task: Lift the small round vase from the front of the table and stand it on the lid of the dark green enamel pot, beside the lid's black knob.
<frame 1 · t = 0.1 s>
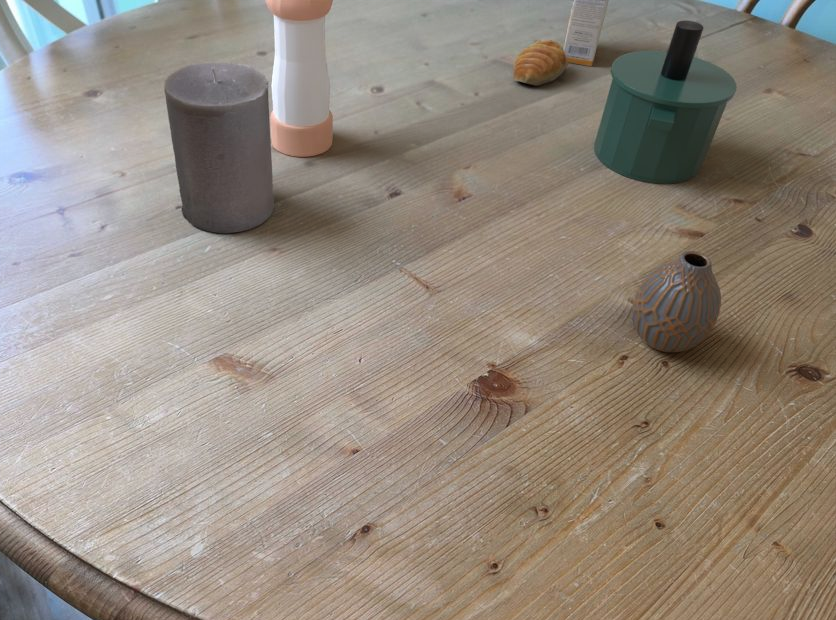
pot: (646, 156, 91), on the table
salt shaker: (302, 143, 90), on the table
pastry: (537, 75, 107), on the table
lid: (671, 80, 84), point 9 cm above the table, touching pot
vase: (661, 338, 67), on the table
pillar candle: (229, 209, 79), on the table
supplement box: (577, 55, 112), on the table
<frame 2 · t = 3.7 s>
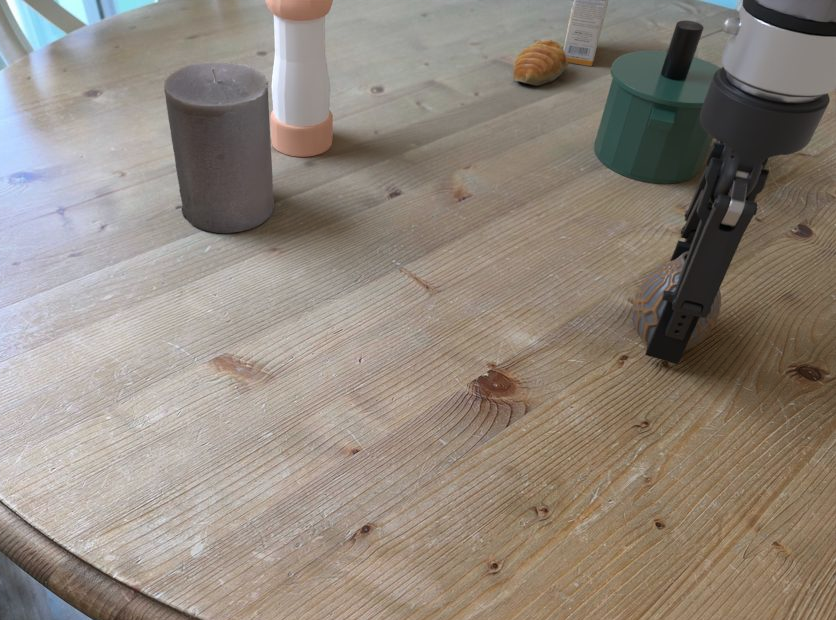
hand: (666, 328, 67), 1 cm above the table, tool pointing down, fingers closed on vase, 7 cm apart
vase: (661, 338, 67), on the table, touching gripper
everything else where it was.
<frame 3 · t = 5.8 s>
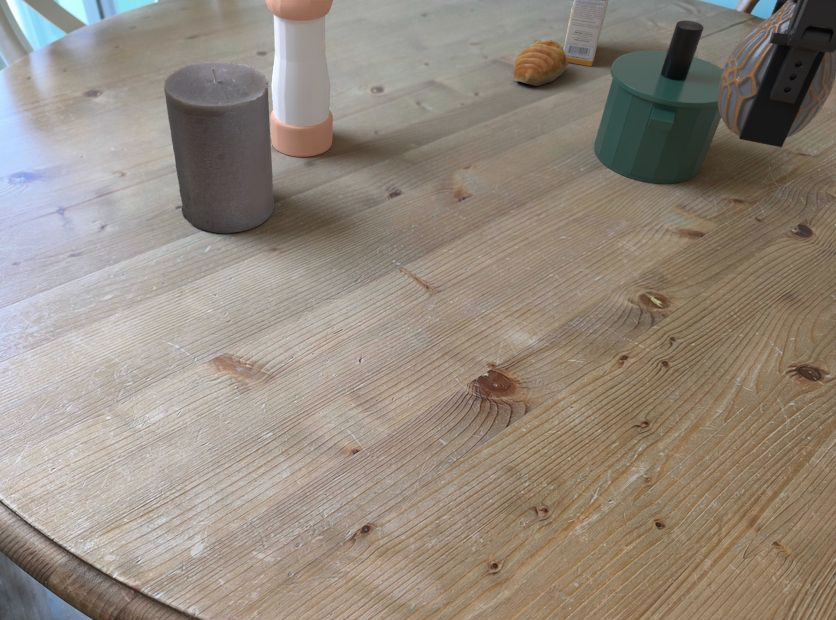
hand: (760, 115, 53), 21 cm above the table, tool pointing down, fingers closed on vase, 7 cm apart
vase: (753, 131, 54), point 20 cm above the table, touching gripper
everything else where it was.
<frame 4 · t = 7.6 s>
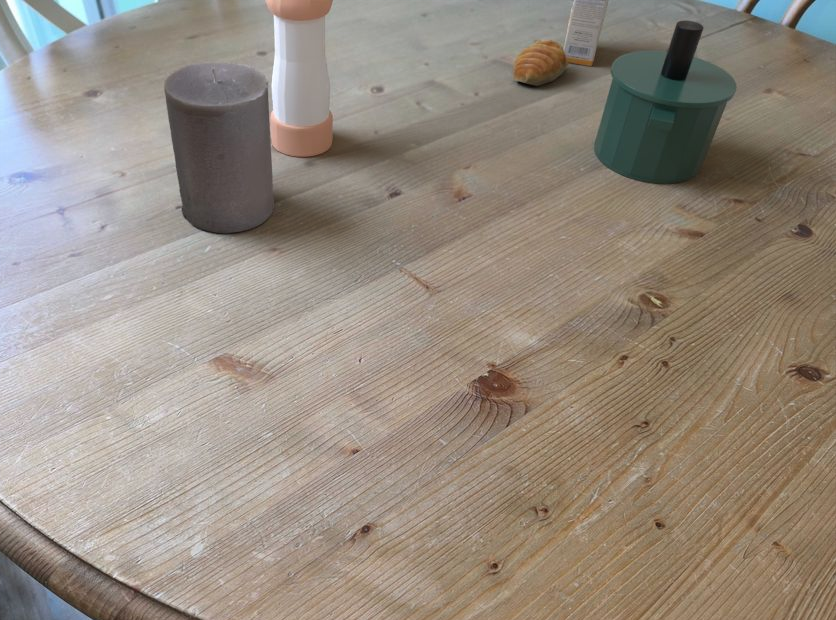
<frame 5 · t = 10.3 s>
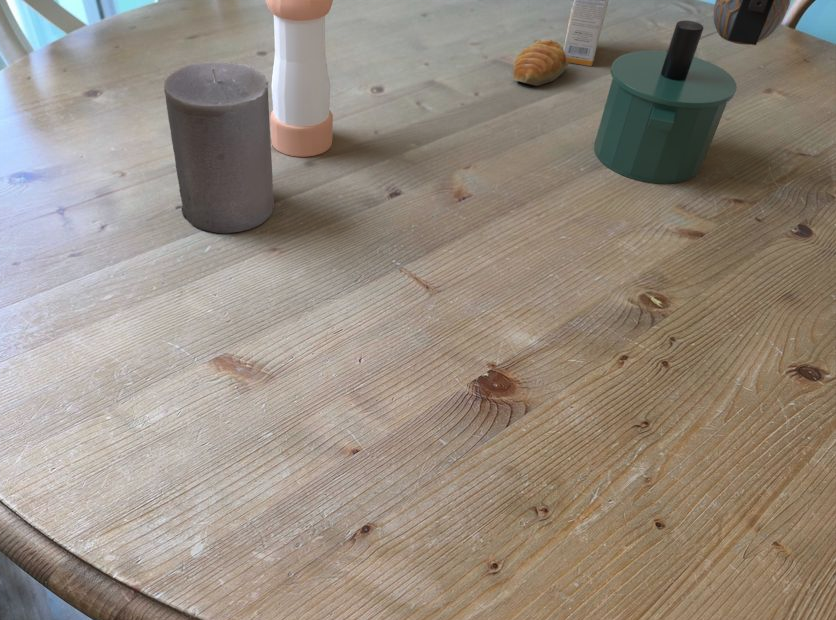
hand: (742, 28, 78), 16 cm above the table, tool pointing down, fingers closed on vase, 7 cm apart
vase: (737, 39, 79), point 15 cm above the table, touching gripper
everything else where it was.
when the fingers open (11 cm above the table, at t = 11.9 s): vase stays where it is, resting on lid.
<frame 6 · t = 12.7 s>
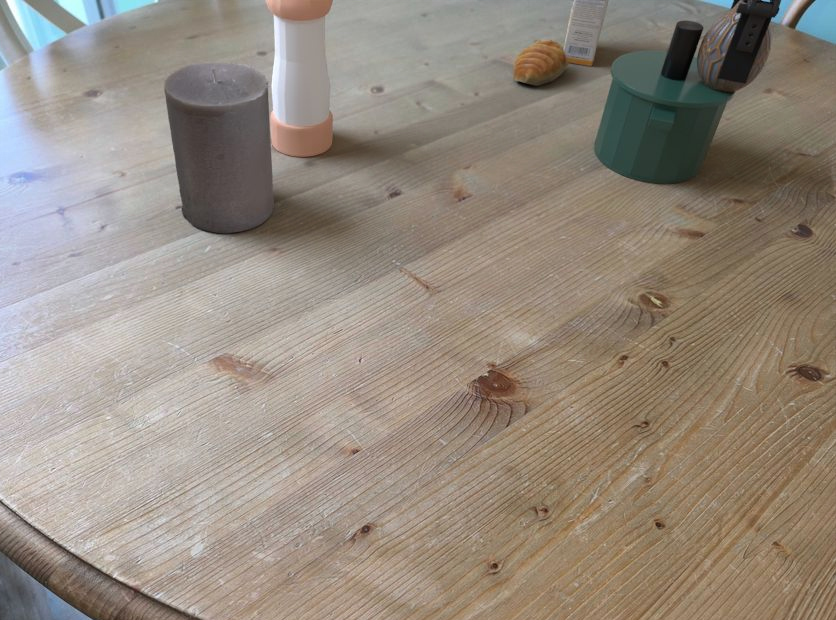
hand: (733, 55, 80), 13 cm above the table, tool pointing down, fingers open, 13 cm apart
lid: (671, 80, 84), point 9 cm above the table, touching pot, vase
vase: (720, 85, 83), point 10 cm above the table, touching lid
everything else where it was.
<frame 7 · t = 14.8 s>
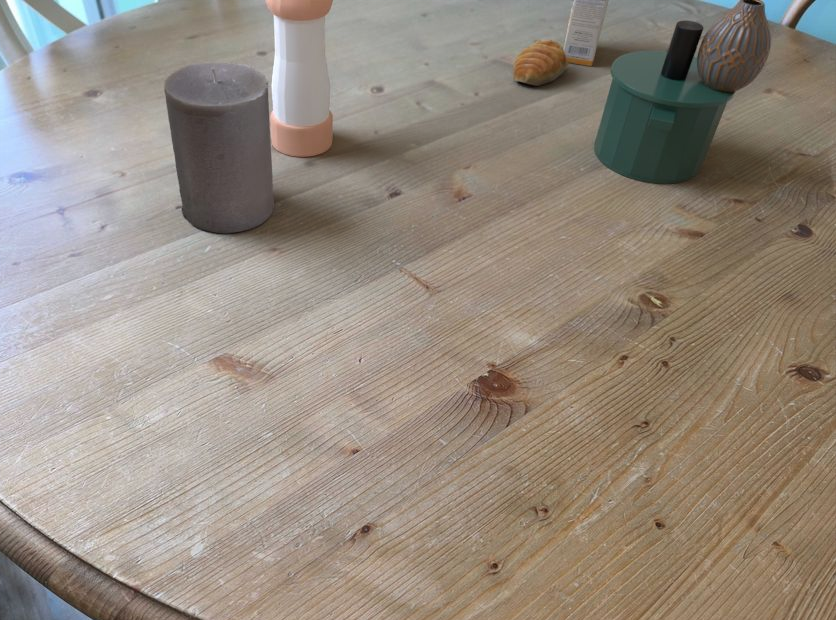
nothing on the table moved.
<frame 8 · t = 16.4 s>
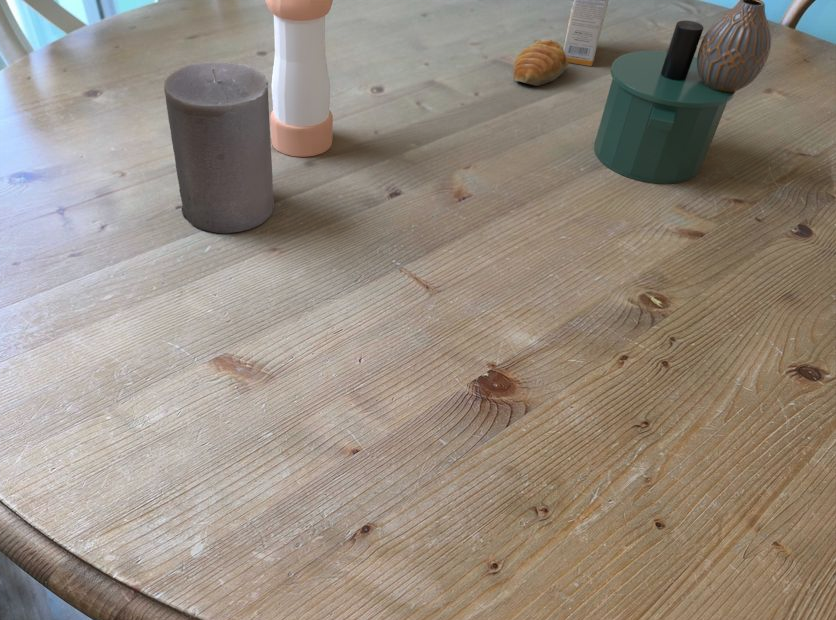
nothing on the table moved.
at the end: vase inside the target area on the pot (5.1 cm from its centre), point 9.9 cm above the pot's base; vase tilted 0°; lid 0.0 cm off-centre on the pot, point 9.5 cm above the pot's base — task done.
